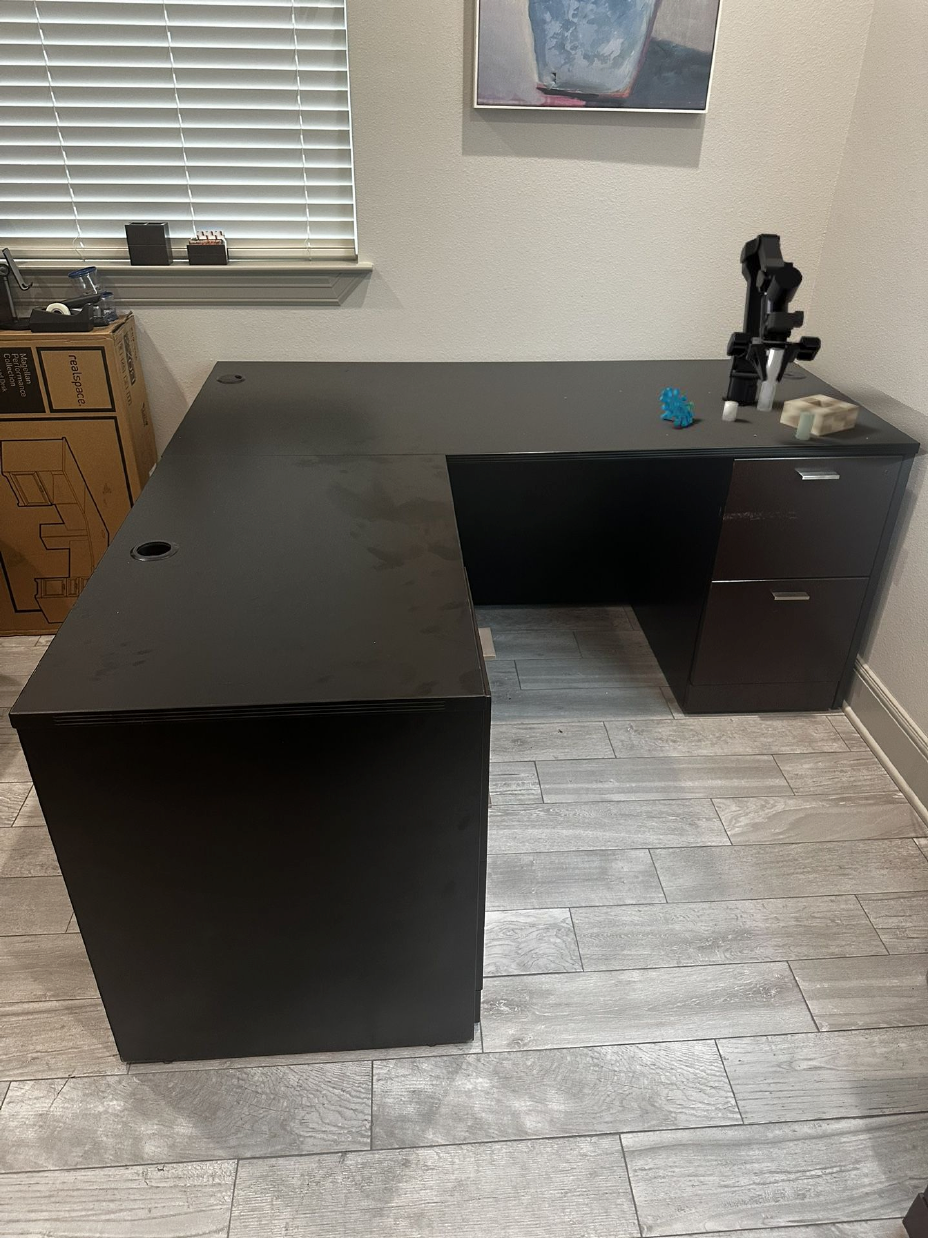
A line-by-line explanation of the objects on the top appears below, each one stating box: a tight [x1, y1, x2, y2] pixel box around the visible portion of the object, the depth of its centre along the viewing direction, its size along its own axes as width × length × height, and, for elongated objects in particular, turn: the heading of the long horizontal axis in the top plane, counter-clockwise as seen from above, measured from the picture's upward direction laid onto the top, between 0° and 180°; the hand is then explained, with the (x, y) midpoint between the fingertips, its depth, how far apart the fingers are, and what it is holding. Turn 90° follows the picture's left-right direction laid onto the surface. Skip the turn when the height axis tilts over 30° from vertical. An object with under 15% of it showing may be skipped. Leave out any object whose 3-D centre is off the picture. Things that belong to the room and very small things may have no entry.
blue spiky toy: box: [659, 386, 695, 428], centre depth 197 cm, size 11×6×10 cm
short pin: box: [721, 400, 739, 422], centre depth 199 cm, size 3×3×4 cm
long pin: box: [756, 348, 784, 412], centre depth 181 cm, size 3×3×13 cm
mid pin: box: [795, 412, 815, 441], centre depth 188 cm, size 3×3×6 cm
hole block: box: [779, 393, 860, 437], centre depth 197 cm, size 11×13×5 cm
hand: (771, 381), depth 180 cm, fingers closed on long pin, 3 cm apart
